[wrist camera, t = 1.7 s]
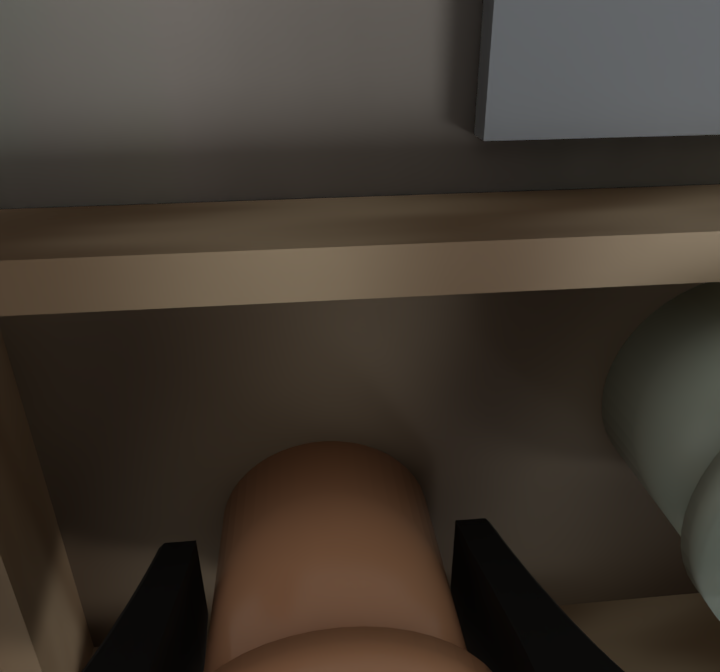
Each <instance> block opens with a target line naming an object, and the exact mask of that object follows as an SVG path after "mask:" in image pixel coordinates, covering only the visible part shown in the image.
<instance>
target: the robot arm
mask: <svg viewBox="0 0 720 672" xmlns="http://www.w3.org/2000/svg"><path fill="white" fill-rule="evenodd" d="M450 590H451V594H452V597H453V601H454V605H455V608H456V612H457V616H458V619H459V623H460V626H461V630H462V634H463V637H464V641H465V644H466V648H467V651H468V652H469V653H471V654H472V655H474V656H475V657H476V658H478V659H479V660H480V661H482V662H483V663H484V664H485V665H486V666H487V667H488V668H489V669H490V670H491V671H492V672H625V671H623V670H622V669H621V668H620V667H619V666H618V665H617V664H616V663H615V662H614V661H612V660H611V659H610V658H609V657H608V656H607V655H606V654H605V653H604V652H603V651H602V650H601V649H600V648H599V647H598V646H597V645H596V644H595V643H594V642H593V641H592V640H591V639H590V638H589V637H588V636H587V635H586V634H585V633H584V632H583V631H582V630H581V629H580V628H579V627H578V626H577V625H576V624H575V623H574V622H573V621H572V620H571V619H570V618H569V617H568V616H567V614H566V613H565V612H564V611H563V610H562V609H561V608H560V607H559V606H558V605H557V604H556V602H555V601H554V600H553V599H552V598H551V597H550V596H549V595H548V593H547V592H546V591H545V590H544V589H543V588H542V587H541V585H540V584H539V583H538V582H537V581H536V580H535V579H534V577H533V576H532V575H531V574H530V573H529V571H528V570H527V569H526V568H525V567H524V565H523V564H522V563H521V562H520V560H519V559H518V558H517V557H516V555H515V554H514V553H513V552H512V550H511V549H510V548H509V547H508V545H507V544H506V543H505V541H504V540H503V539H502V537H501V536H500V535H499V533H498V532H497V531H496V529H495V528H494V527H493V525H492V524H491V523H490V522H489V521H488V520H487V519H486V518H479V519H466V520H456V521H455V534H454V547H453V560H452V573H451V586H450ZM207 626H208V609H207V603H206V597H205V591H204V585H203V579H202V573H201V567H200V561H199V555H198V549H197V543H196V540H195V541H182V542H169V543H164V544H163V545H162V546H161V547H159V549H158V551H157V553H156V555H155V557H154V559H153V560H152V562H151V564H150V566H149V568H148V569H147V571H146V573H145V575H144V577H143V578H142V580H141V582H140V583H139V585H138V587H137V589H136V590H135V592H134V594H133V595H132V597H131V598H130V600H129V602H128V603H127V605H126V607H125V608H124V610H123V611H122V613H121V614H120V616H119V617H118V619H117V621H116V622H115V624H114V625H113V627H112V628H111V630H110V631H109V633H108V635H107V636H106V638H105V639H104V641H103V642H102V644H101V645H100V646H99V648H98V649H97V651H96V652H95V653H94V655H93V656H92V658H91V659H90V660H89V662H88V663H87V665H86V666H85V667H84V669H83V670H82V672H203V671H204V664H205V652H206V640H207Z"/></svg>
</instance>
